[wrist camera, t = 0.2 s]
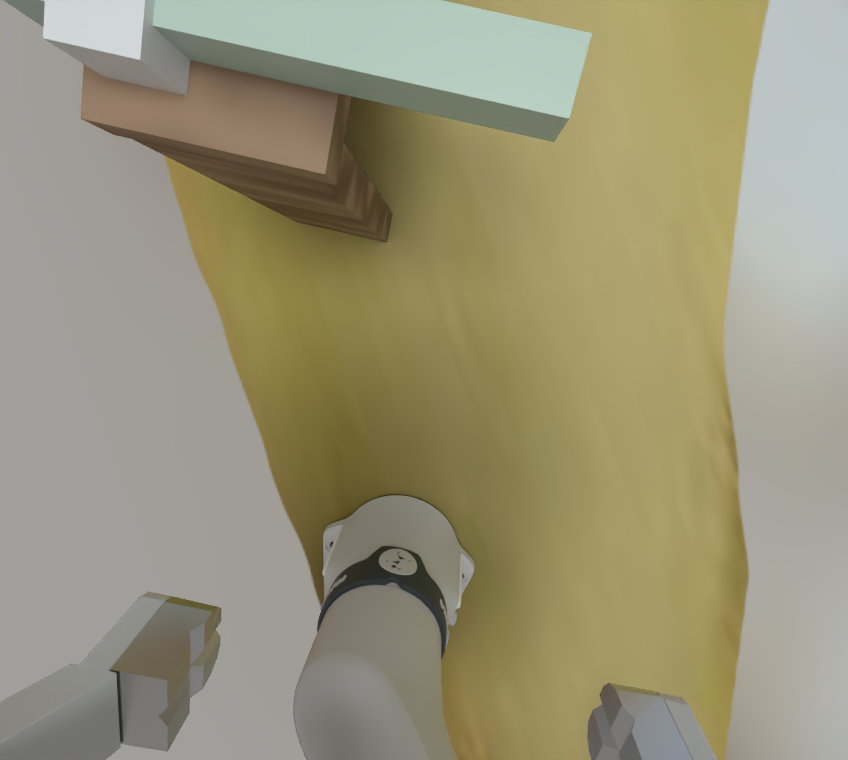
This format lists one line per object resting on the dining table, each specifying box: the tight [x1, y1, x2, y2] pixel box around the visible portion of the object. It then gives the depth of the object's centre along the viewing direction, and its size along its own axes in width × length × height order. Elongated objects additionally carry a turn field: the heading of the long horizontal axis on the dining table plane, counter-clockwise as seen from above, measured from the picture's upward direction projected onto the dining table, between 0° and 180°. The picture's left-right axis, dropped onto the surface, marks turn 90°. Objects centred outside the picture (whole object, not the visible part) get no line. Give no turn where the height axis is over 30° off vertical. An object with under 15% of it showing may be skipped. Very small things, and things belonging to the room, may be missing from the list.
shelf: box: [81, 60, 392, 242], centre depth 31 cm, size 20×12×26 cm, turn 167°
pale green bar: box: [4, 0, 592, 142], centre depth 18 cm, size 6×24×3 cm, turn 77°
